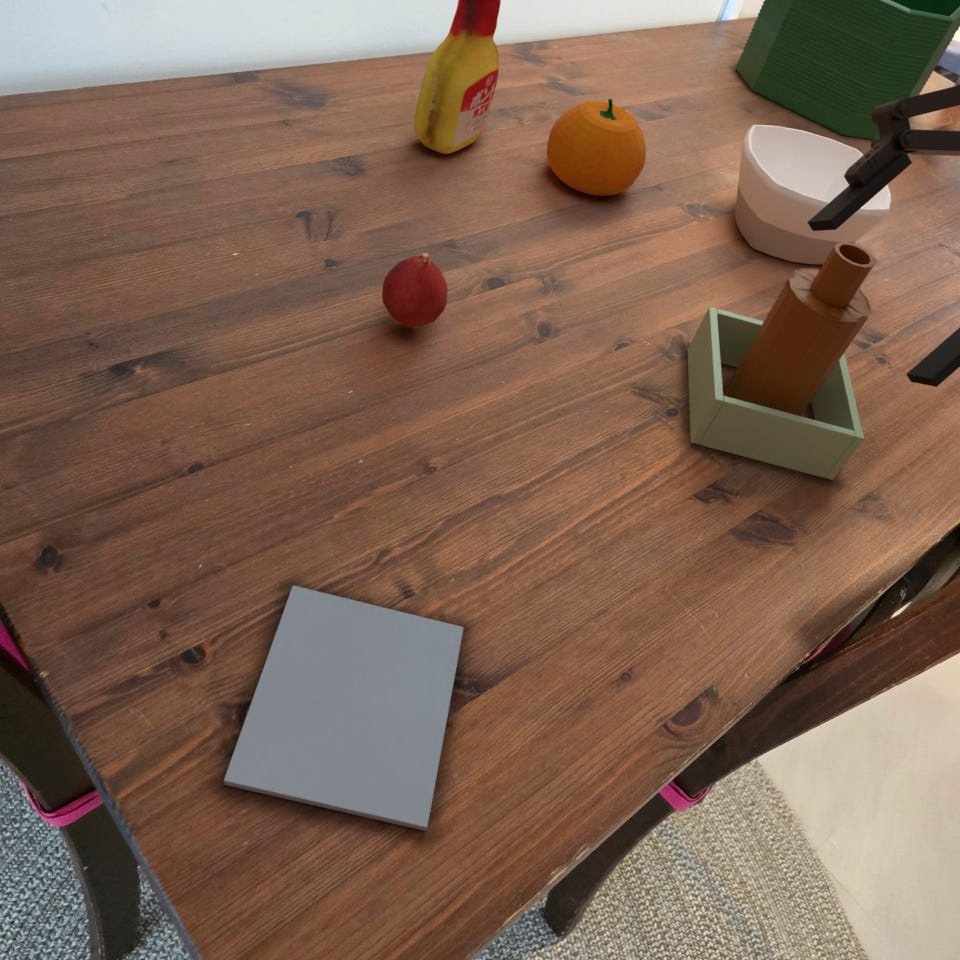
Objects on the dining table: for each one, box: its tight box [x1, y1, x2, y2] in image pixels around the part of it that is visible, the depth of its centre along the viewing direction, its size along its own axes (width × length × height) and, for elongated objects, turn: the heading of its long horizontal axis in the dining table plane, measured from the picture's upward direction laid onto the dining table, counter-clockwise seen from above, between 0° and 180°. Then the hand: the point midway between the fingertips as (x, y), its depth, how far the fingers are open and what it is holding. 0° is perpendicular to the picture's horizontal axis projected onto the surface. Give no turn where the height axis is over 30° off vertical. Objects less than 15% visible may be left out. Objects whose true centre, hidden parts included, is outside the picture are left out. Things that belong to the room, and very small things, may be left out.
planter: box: [735, 0, 960, 140], centre depth 137 cm, size 26×26×18 cm
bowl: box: [734, 124, 892, 265], centre depth 106 cm, size 18×18×9 cm
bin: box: [686, 306, 865, 481], centre depth 83 cm, size 14×14×6 cm
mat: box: [223, 585, 465, 832], centre depth 56 cm, size 14×12×1 cm
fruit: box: [546, 98, 647, 197], centre depth 104 cm, size 12×12×10 cm
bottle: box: [413, 0, 502, 155], centre depth 99 cm, size 12×6×20 cm, turn 141°
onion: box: [381, 252, 449, 329], centre depth 79 cm, size 6×6×8 cm
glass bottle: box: [723, 242, 876, 417], centre depth 78 cm, size 7×7×18 cm
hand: (872, 306), depth 60 cm, fingers open, 13 cm apart
